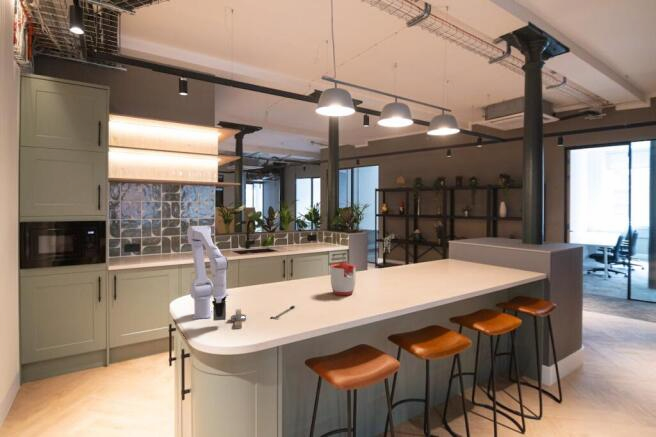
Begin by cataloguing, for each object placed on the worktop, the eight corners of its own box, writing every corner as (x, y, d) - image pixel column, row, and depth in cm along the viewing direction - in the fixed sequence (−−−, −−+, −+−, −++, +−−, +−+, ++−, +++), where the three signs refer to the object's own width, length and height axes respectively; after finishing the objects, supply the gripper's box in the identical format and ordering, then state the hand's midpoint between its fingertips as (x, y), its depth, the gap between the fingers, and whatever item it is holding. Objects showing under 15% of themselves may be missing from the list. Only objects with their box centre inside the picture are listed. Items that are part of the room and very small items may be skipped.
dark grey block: (214, 317, 163) (214, 303, 163) (225, 316, 164) (225, 303, 164) (213, 320, 158) (213, 307, 158) (225, 319, 159) (225, 306, 159)
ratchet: (230, 318, 173) (230, 308, 172) (245, 317, 174) (245, 307, 174) (230, 329, 158) (229, 318, 157) (246, 328, 159) (246, 317, 159)
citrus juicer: (338, 298, 209) (338, 264, 208) (326, 291, 224) (326, 259, 224) (362, 295, 215) (362, 262, 214) (348, 289, 231) (348, 258, 230)
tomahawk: (281, 322, 170) (281, 320, 170) (269, 319, 172) (269, 317, 172) (302, 309, 189) (303, 307, 189) (291, 307, 192) (292, 305, 191)
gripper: (228, 287, 154) (228, 319, 155) (229, 280, 169) (229, 309, 169) (210, 288, 153) (211, 320, 153) (213, 281, 167) (213, 310, 167)
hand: (219, 314), depth 161 cm, fingers closed on dark grey block, 5 cm apart
